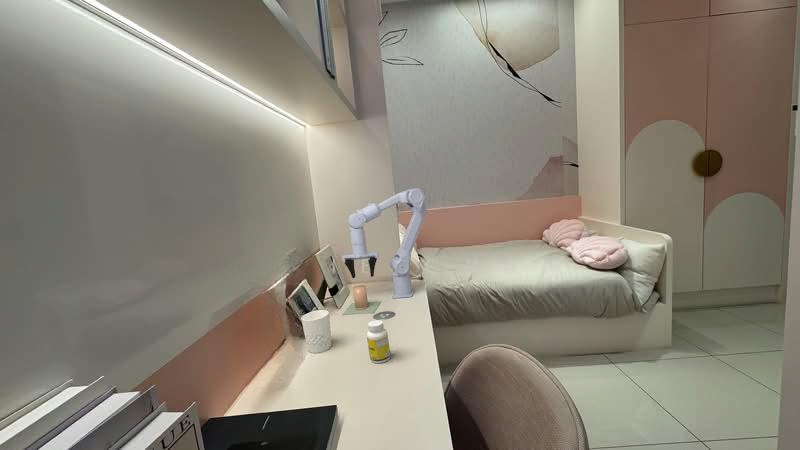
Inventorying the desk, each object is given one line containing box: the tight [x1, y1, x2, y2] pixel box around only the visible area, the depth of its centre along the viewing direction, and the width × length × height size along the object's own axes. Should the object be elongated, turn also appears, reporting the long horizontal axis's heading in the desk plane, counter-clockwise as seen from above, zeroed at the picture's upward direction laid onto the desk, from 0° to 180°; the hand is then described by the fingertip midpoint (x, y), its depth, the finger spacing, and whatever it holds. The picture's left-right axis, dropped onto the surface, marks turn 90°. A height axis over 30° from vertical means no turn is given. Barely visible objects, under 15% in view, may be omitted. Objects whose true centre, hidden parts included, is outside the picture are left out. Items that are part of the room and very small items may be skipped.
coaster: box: [372, 310, 396, 321], centre depth 122 cm, size 8×8×1 cm
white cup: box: [300, 309, 333, 354], centre depth 102 cm, size 8×8×10 cm
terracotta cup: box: [352, 284, 369, 310], centre depth 132 cm, size 5×5×8 cm
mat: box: [342, 300, 381, 316], centre depth 133 cm, size 12×12×1 cm
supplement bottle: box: [366, 319, 391, 364], centre depth 90 cm, size 5×5×10 cm
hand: (363, 276), depth 139 cm, fingers open, 7 cm apart
